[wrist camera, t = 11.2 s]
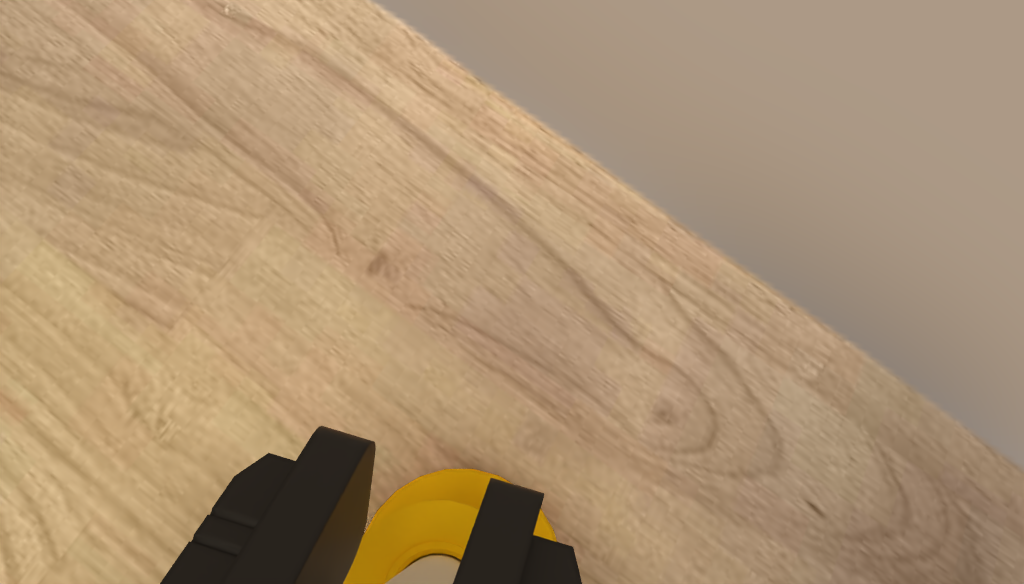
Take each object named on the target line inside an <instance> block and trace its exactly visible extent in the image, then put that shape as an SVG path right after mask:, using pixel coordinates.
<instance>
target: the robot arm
mask: <svg viewBox="0 0 1024 584" xmlns="http://www.w3.org/2000/svg"><path fill="white" fill-rule="evenodd" d="M374 458H375V442H373V441H370V440H367V439H363V438H360V437H357V436H354V435H350V434H347V433H344V432H340V431H337V430H334V429H330V428H327V427H324V426H320V427H319V428H317V429H316V431H315V432H314V433H313V435H312V436H311V438H310V439H309V441H308V443H307V444H306V446H305V447H304V449H303V451H302V452H301V454H300V455H299V457H298V459H297V460H296V461H293V460H290V459H287V458H284V457H280V456H277V455H274V454H271V453H268V454H267V455H265V456H264V457H262V458H261V459H259V460H258V461H256V462H255V463H253V464H252V465H250V466H249V467H247V468H246V469H244V470H243V471H241V472H240V473H239V474H237V475H236V476H234V478H233V479H232V481H231V482H230V483H229V485H228V486H227V488H226V489H225V491H224V492H223V494H222V495H221V496H220V498H219V499H218V501H217V502H216V504H215V505H214V507H213V508H212V512H211V514H210V515H207V517H206V518H205V520H204V521H203V522H202V524H201V525H200V527H199V528H198V530H197V531H196V533H195V534H194V537H193V540H192V541H191V542H189V543H188V544H187V546H186V547H185V548H184V550H183V551H182V553H181V554H180V556H179V557H178V559H177V560H176V561H175V563H174V564H173V566H172V567H171V569H170V570H169V572H168V573H167V574H166V576H165V577H164V579H163V580H162V582H161V583H160V584H343V583H344V581H345V579H346V576H347V574H348V572H349V570H350V568H351V566H352V564H353V562H354V559H355V557H356V554H357V551H358V549H359V546H360V543H361V540H362V536H363V533H364V529H365V525H366V520H367V513H368V506H369V498H370V490H371V482H372V474H373V466H374ZM543 498H544V493H541V492H537V491H534V490H531V489H527V488H524V487H521V486H518V485H514V484H511V483H508V482H504V481H501V480H498V479H495V478H491V479H490V481H489V484H488V486H487V489H486V492H485V495H484V498H483V500H482V503H481V506H480V509H479V512H478V514H477V517H476V520H475V523H474V526H473V528H472V531H471V534H470V537H469V540H468V543H467V545H466V548H465V551H464V554H463V557H462V559H461V562H460V565H459V568H458V571H457V573H456V576H455V579H454V582H453V584H582V582H581V578H580V574H579V569H578V565H577V561H576V557H575V553H574V549H573V547H571V546H568V545H565V544H562V543H558V542H555V541H552V540H549V539H546V538H542V537H539V536H536V535H533V533H534V530H535V526H536V523H537V519H538V515H539V512H540V508H541V505H542V501H543Z"/></svg>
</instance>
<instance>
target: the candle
mask: <svg viewBox="0 0 1024 584" xmlns="http://www.w3.org/2000/svg"><path fill="white" fill-rule="evenodd" d="M491 478H495V479H498V480H501V481H504V482H508V483H511V482H509V481H507V480H505V479H504V478H502V477H500V476H498V475H495V474H491V473H487V472H483V471H479V470H475V469H444V470H441V471H437V472H434V473H430V474H427V475H423V476H420V477H418V478H417V479H415V480H413V481H412V482H410V483H408V484H407V485H405V486H403V487H402V488H400V489H398V490H397V491H396V492H395V493H394V494H393V495H392V496H391V497H390V498H389V499H388V500H387V501H386V502H385V503H384V504H383V505H382V506H381V507H380V508H379V509H378V511H377V512H376V514H375V516H374V518H373V519H372V521H371V523H370V525H369V526H368V528H367V530H366V532H365V533H364V535H363V536H362V540H361V543H360V546H359V549H358V551H357V554H356V557H355V559H354V562H353V564H352V566H351V568H350V570H349V572H348V574H347V576H346V579H345V581H344V583H343V584H453V582H454V579H455V576H456V573H457V571H458V568H459V565H460V562H461V559H462V557H463V554H464V551H465V548H466V545H467V543H468V540H469V537H470V534H471V531H472V528H473V526H474V523H475V520H476V517H477V514H478V512H479V509H480V506H481V503H482V500H483V498H484V495H485V492H486V489H487V486H488V484H489V481H490V479H491ZM511 484H512V483H511ZM533 535H536V536H539V537H542V538H546V539H549V540H552V541H555V542H557V540H556V537H555V533H554V530H553V529H552V527H551V525H550V523H549V522H548V520H547V518H546V517H545V515H544V513H543V512H542V510H541V508H540V512H539V515H538V519H537V523H536V526H535V530H534V533H533Z"/></svg>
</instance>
